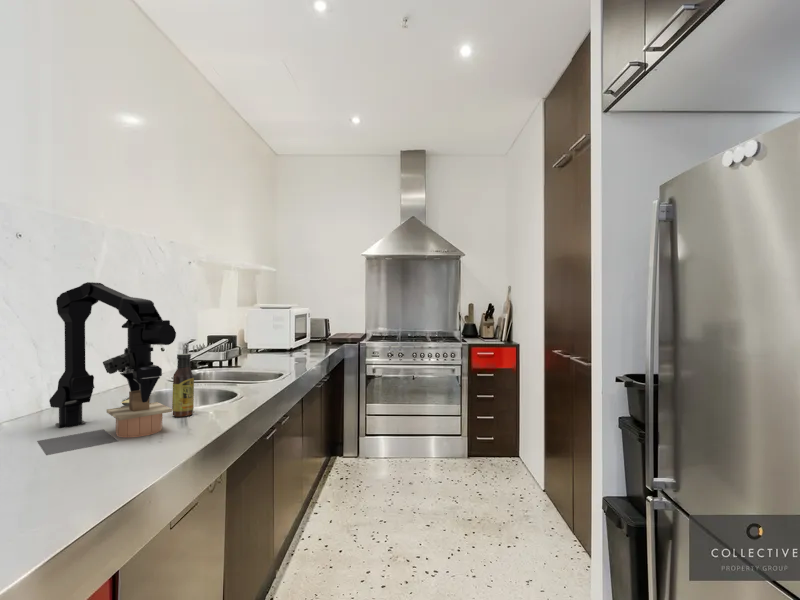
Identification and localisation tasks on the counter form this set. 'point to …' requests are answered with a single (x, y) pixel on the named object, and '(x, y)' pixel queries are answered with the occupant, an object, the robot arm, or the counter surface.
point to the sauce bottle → (183, 387)
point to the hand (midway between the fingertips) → (139, 399)
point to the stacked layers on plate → (125, 402)
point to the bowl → (139, 426)
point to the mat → (76, 441)
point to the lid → (138, 408)
